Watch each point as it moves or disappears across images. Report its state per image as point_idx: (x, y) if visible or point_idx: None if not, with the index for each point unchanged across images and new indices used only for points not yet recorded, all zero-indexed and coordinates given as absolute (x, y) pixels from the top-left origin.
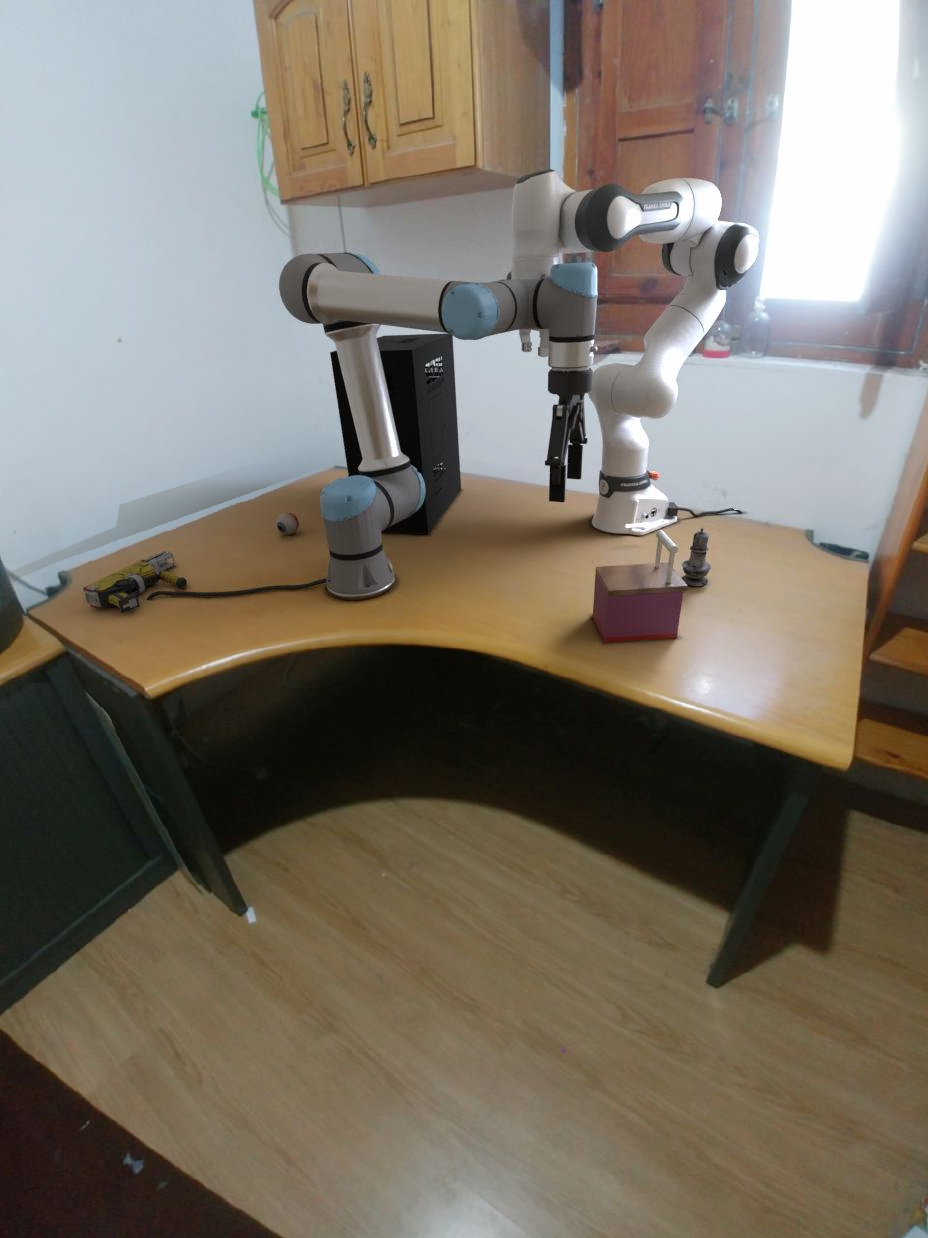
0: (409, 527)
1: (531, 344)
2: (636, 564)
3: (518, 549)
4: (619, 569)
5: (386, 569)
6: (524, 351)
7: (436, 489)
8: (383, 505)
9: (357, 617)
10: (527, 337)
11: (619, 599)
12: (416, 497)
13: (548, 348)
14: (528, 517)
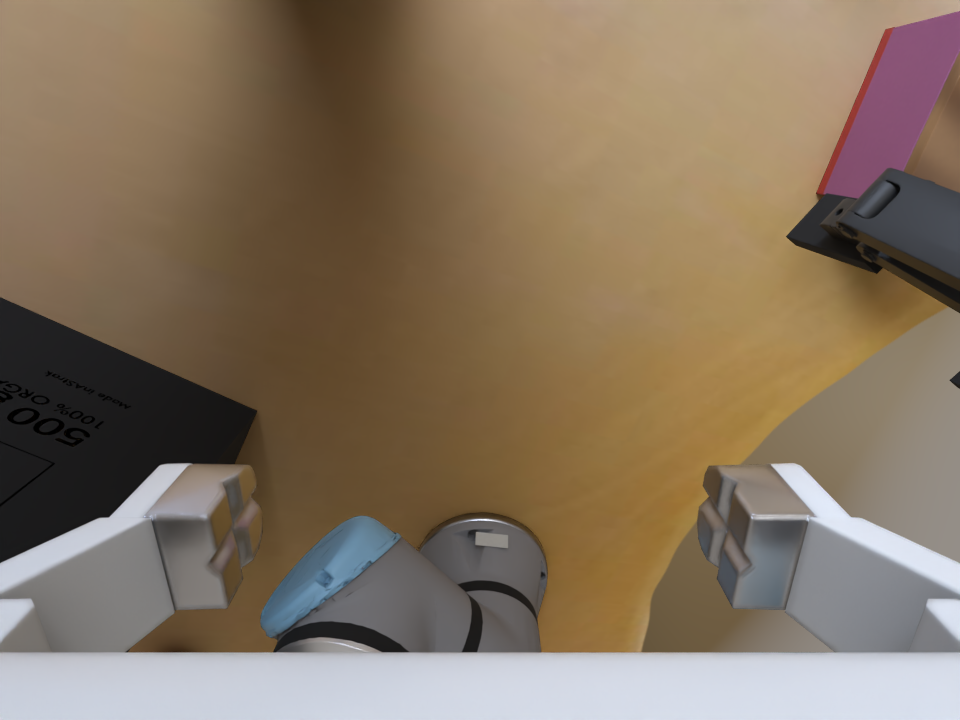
0: (234, 457)
1: (223, 509)
2: (951, 94)
3: (417, 224)
4: (946, 156)
5: (516, 553)
6: (259, 536)
7: (103, 405)
8: (493, 650)
9: (602, 581)
10: (94, 590)
11: None
12: (402, 556)
13: (833, 510)
14: (182, 107)
